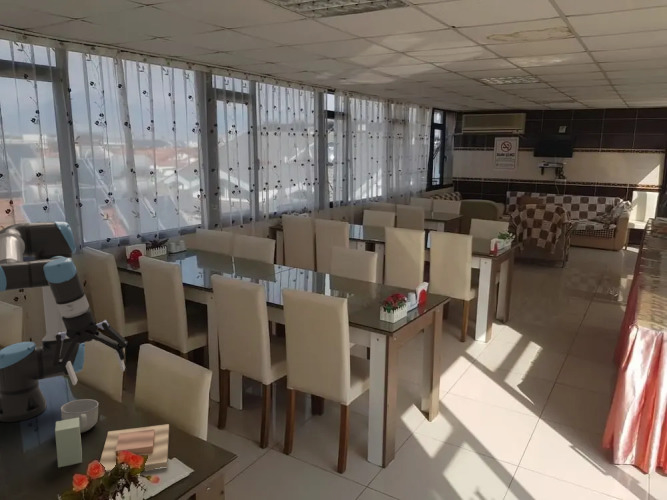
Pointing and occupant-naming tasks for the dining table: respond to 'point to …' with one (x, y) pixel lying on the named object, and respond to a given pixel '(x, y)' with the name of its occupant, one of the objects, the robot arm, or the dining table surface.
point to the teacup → (81, 412)
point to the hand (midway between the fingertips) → (99, 375)
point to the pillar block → (68, 442)
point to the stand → (138, 445)
